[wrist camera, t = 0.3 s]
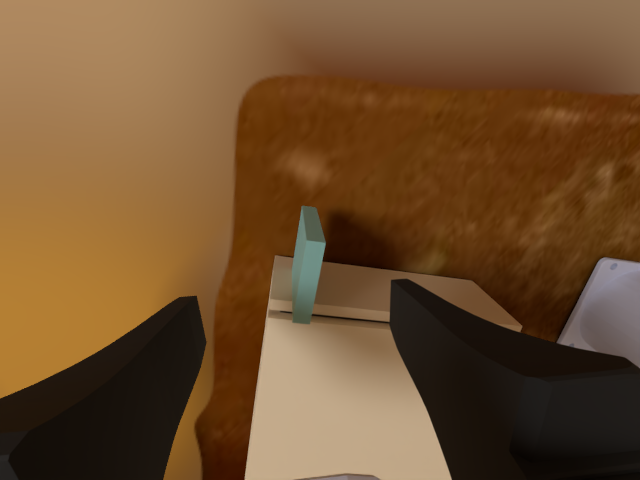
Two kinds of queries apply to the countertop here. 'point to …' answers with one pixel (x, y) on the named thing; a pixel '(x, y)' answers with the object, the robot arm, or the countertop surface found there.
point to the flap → (359, 285)
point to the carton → (338, 404)
